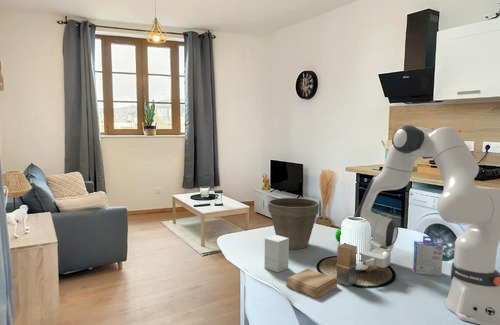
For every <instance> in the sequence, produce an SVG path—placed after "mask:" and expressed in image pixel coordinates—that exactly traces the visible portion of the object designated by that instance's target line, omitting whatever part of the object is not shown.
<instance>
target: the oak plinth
mask: <svg viewBox="0 0 500 325" xmlns="http://www.w3.org/2000/svg"><path fill="white" fill-rule="evenodd" d="M336 278H337V277H334V276H331V275H328V274H324V273H322V272H319V271H316V270H313V269H310V268H306V269H303V270H301V271H300V272H299V271H298V273H295V274H293V275H291V276H288V277H286V281H285V282H286V285H285V286H286V287H287V288H290V289H293V290H295V291H298V292H300V293H303V294H305V295H307V296H309V297H312V298H315V299H319V298H320V297H321V296H325V294H327V293H329V292H330V291H332V290H333V289H335V288H337V287H338V283H337V279H336Z"/></svg>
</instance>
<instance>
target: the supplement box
mask: <svg viewBox="0 0 500 325" xmlns="http://www.w3.org/2000/svg"><path fill="white" fill-rule="evenodd" d="M289 254H290V249H289V238H286V237H282V236H278V235H276V234H273V235H271V236H268V237H265V238H264V265H263V266H264V269H266V270H270V271H273V272H275V273H280V272H283V271H284V270H287V269H289V264H290V262H289V259H290V256H289Z"/></svg>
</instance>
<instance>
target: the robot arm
mask: <svg viewBox="0 0 500 325" xmlns="http://www.w3.org/2000/svg"><path fill="white" fill-rule="evenodd" d="M391 140H392V144H391V145H390V147H389V149H388V152H387V154H386V158H385V160H384V162H383V167H382V169H381V171H380V172H379V174H378V175H374V176H373V177H372V179H371V180H370V181H369V184H368V186H367V188H366V190H365V192H364V195H363V197H362V200H360V201H361V202H360V204H359V206H358V208H357V210H356V212H355V213H354V215H353V217H361V218H364V219H366V220H367V221H368V222H369V223H370V224H371V238H372V239H371V238H370V239H371V248H370V251H369V252H360V253H359V254H360V255H361V260H359V261H358V262H360V263H362V265H363V266H366V267H368V266H373V267H374V266H375V267H379V268H385V269H386V268H387V267H388V266H390V264H391V256H392V254H391V252H392V251H393V249H394V247H395V243H396V241H397V239H398V235H399V227H398V224H397V223H396V221H395V220H394V219H392V218H389V217H387V216H384V215H381V214H378V213H375V212H373V211H372V207H373V205H374V203H375V200H376V198H377V196H378V194H379V193H381V192H383V191H396V190H400V189H403V188H405V187H406V186H408V184H409V182H410V180H411V178H412V174H413V170H414V167H415V166H414V165H415V162H416V160H417V159H419V158H421V159H433V161H434V163H435V165H436V168H437V170H438V172H439V174H440V176H441V179H442V184H443V190H442V193H441V194H440V195H439V197H438V199H437V201H436V202H437V203H436V210H437V214H438V215H439V216H440V218H441V219H442V220H443V221H445V222H447V223H451V224H455V225H460V226H467V227H466V229H465V230H464V231H463V232H462V233H460V235H458V236H457V238H456V239H455V242H454V253H453V255H454V256H453V262H452V263H451V267H450V268H451V269H450V276H451V277H450V279H451V282H450V288H449V290H448V291H449V292H448V295H447V297H446V299H445V301H444V304H445V307H446V308H447V309H448V310H450V311H451V312H453V314H455V315H456V316H457V317H458V319H460V320H462V321H466V322H467V323H473V324H476V325H500V272H499V271H498V270H496V263H497V262H496V261H497V254H498V247H499V245H500V189H499V188H479V187H477V185H476V184H475V180H474V179H475V178H476V177H477V176H478V174H479V171H480V166H479V164H478V163H477V160H476V159H475V157H474V156H473V154H472V152H471V150H470V149H469V147H468V145H467V143H466V142H465V141H464V139H463V138H462V137H461V135H460V134H459V133H458V132H457V131H456V130H455V129H453V127H450V126H442V127H438V128H436V129H431V128H427V127H424V126H415V125H410V124H409V125H402V126H400V127H398V128H396V130H395V131H394V132H393V134H392V139H391ZM336 253H337V254H338V246H337V249H336Z"/></svg>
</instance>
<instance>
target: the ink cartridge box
mask: <svg viewBox="0 0 500 325" xmlns="http://www.w3.org/2000/svg"><path fill="white" fill-rule="evenodd" d="M443 255H444V246H443V244H441V243H440V242H437V241H436V242H435V241H434V238H433V236H425V235H423V236H422V241H418V240H414V241H413V261H412V262H413V264H412V270H413V273H414V274H416V275H428V276H429V275H430V276H438V277H441V276H442V270H443Z"/></svg>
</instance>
